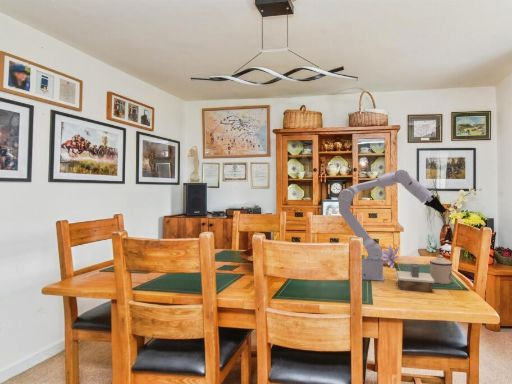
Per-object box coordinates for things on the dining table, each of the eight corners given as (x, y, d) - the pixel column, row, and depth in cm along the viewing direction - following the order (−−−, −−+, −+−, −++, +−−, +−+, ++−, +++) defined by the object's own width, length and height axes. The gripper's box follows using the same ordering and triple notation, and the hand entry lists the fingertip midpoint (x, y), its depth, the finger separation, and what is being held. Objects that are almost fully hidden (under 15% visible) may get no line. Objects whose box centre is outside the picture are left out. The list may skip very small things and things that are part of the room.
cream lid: (398, 281, 147) (399, 267, 147) (396, 273, 160) (397, 261, 159) (434, 284, 143) (434, 270, 143) (429, 276, 155) (429, 263, 155)
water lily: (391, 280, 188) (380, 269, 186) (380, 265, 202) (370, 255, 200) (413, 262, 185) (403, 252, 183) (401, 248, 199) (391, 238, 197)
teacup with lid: (454, 285, 155) (455, 258, 155) (431, 283, 157) (432, 257, 157) (446, 278, 167) (447, 253, 166) (425, 276, 169) (426, 252, 169)
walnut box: (400, 289, 147) (400, 279, 147) (398, 282, 159) (398, 273, 159) (432, 292, 144) (432, 282, 144) (428, 284, 155) (428, 275, 155)
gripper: (426, 183, 151) (452, 205, 148) (422, 183, 164) (446, 203, 161) (413, 195, 152) (440, 217, 149) (411, 194, 166) (434, 214, 163)
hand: (442, 211), depth 155 cm, fingers open, 7 cm apart
